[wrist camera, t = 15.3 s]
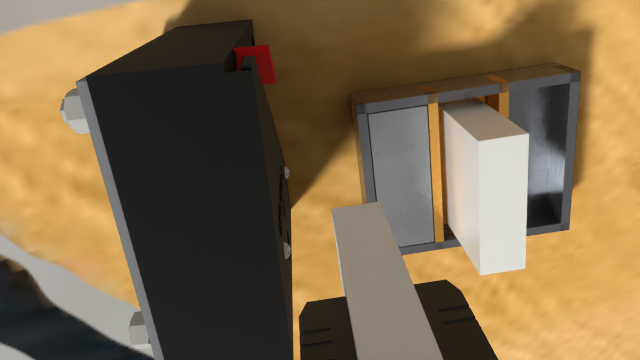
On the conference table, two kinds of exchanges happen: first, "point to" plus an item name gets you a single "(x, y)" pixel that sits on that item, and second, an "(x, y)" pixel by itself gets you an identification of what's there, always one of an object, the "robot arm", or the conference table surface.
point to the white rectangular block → (484, 184)
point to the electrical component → (196, 191)
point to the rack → (424, 147)
